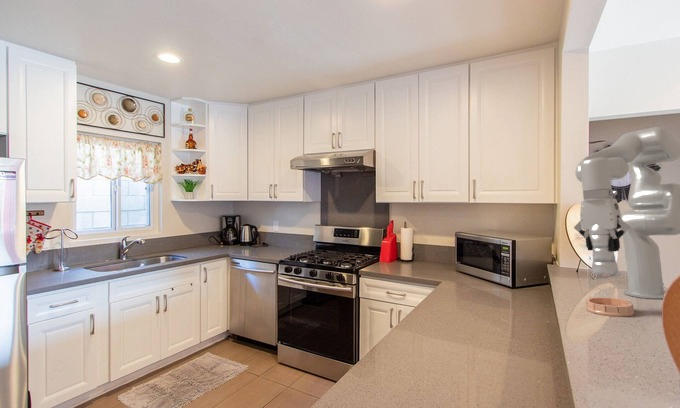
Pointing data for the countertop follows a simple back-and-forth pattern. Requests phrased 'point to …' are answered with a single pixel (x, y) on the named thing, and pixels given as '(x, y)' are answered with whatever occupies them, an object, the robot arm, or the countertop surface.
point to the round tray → (609, 307)
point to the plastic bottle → (602, 252)
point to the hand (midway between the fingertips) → (602, 250)
